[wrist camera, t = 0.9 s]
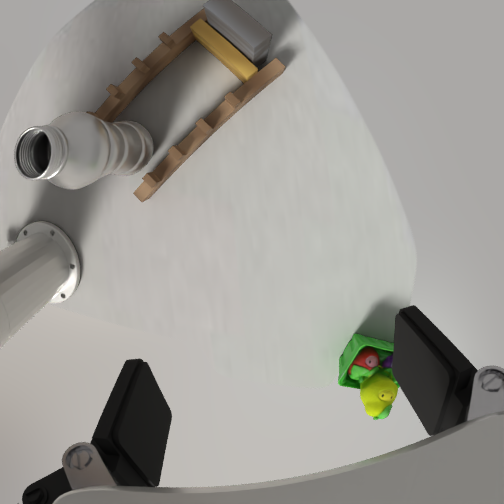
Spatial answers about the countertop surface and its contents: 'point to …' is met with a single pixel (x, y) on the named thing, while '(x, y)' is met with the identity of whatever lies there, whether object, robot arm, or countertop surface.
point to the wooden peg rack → (225, 50)
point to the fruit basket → (370, 373)
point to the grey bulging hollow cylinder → (82, 150)
